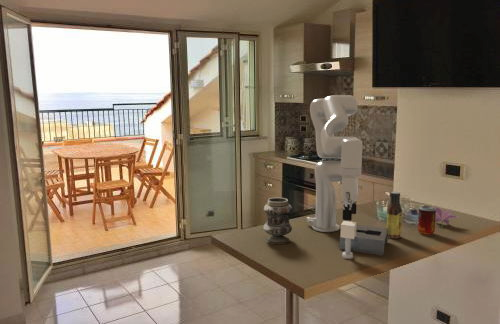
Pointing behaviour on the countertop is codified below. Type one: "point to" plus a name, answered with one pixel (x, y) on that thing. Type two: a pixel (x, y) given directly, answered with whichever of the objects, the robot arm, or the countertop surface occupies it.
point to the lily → (444, 215)
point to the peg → (348, 237)
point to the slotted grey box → (367, 240)
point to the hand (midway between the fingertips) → (349, 216)
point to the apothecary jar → (277, 220)
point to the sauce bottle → (394, 216)
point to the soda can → (426, 220)
